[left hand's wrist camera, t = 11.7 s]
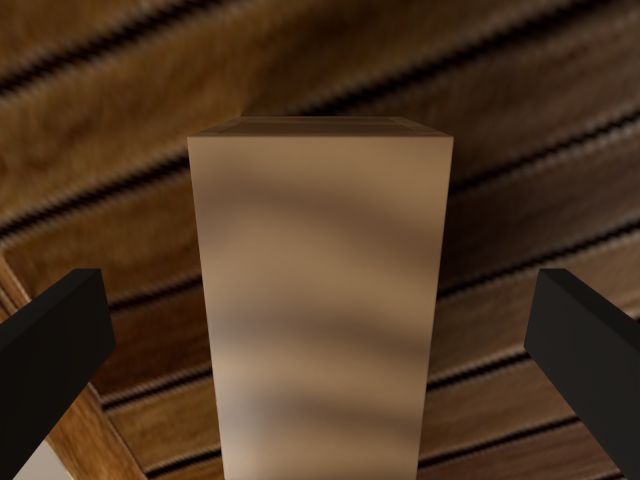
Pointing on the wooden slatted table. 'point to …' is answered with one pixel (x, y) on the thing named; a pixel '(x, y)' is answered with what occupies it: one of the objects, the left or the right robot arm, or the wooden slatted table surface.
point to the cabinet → (320, 289)
